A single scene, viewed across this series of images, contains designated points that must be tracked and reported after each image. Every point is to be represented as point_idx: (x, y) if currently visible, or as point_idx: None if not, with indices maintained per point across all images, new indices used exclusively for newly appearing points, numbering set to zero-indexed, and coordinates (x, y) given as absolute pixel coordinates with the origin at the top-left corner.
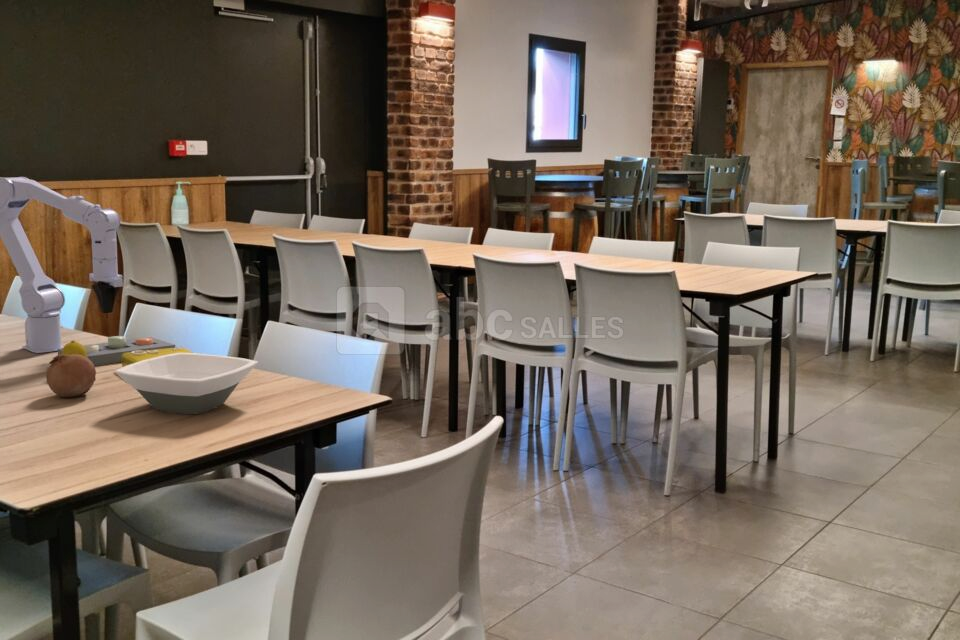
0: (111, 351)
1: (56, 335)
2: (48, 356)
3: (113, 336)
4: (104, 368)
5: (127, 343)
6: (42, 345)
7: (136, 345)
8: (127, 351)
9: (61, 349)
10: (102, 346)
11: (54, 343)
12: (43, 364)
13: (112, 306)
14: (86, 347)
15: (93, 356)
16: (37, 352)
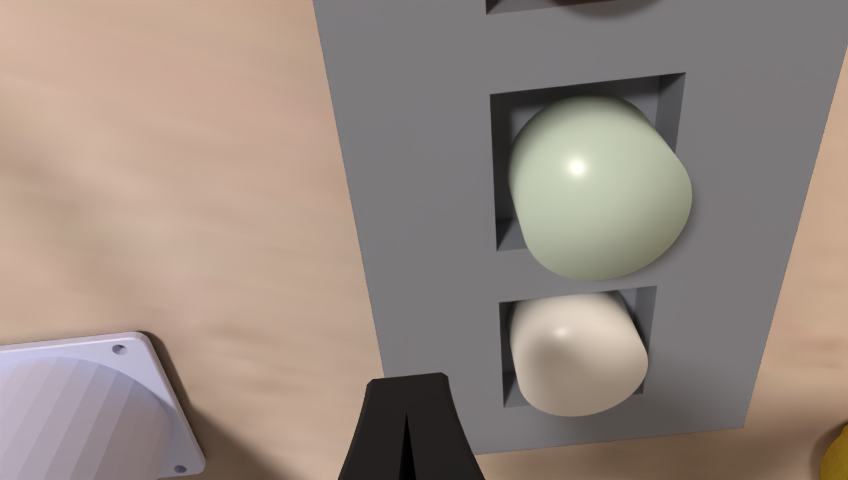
0: (730, 255)
1: (115, 463)
2: (302, 431)
3: (531, 224)
4: (838, 293)
5: (492, 46)
6: (160, 471)
7: (648, 6)
8: (815, 157)
9: None
10: (497, 255)
11: (148, 430)
12: (501, 474)
13: (468, 444)
14: (617, 393)
15: (755, 363)
16: (204, 464)
